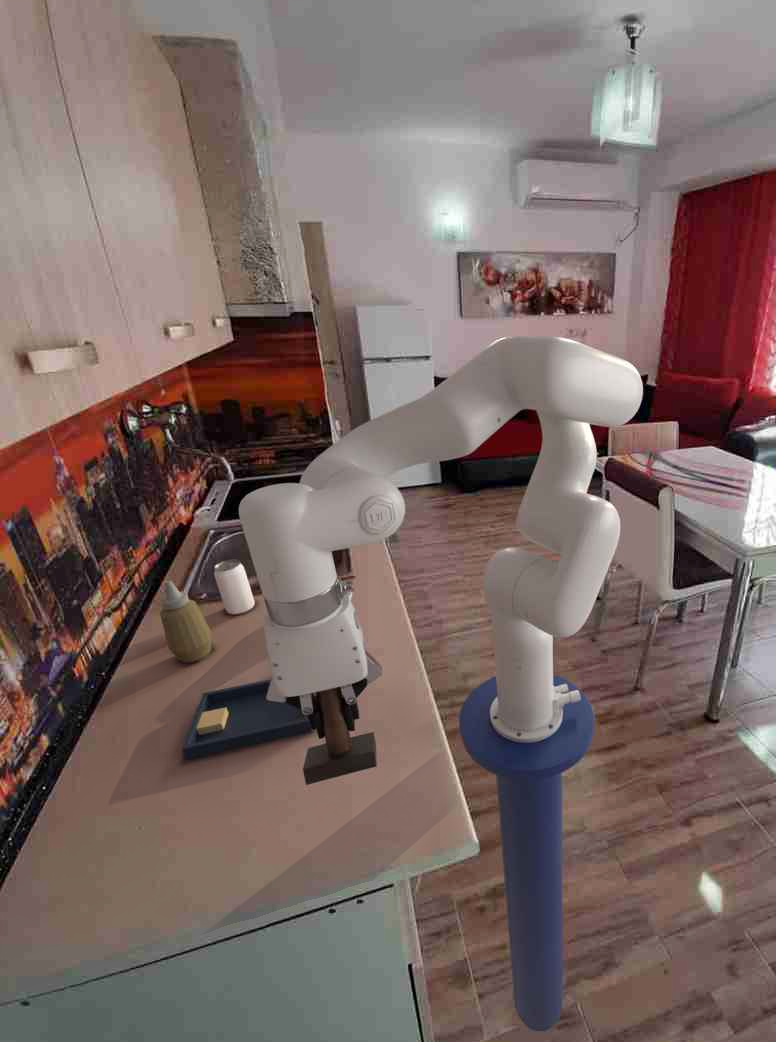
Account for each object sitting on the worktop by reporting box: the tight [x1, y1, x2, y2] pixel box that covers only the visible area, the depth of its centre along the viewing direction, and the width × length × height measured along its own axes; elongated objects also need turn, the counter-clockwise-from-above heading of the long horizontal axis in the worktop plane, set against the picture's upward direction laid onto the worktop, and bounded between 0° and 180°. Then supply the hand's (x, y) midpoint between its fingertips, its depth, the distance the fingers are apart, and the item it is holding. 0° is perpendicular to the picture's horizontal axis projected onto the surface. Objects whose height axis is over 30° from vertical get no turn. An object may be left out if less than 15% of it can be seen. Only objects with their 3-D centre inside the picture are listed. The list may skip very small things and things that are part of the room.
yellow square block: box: [196, 708, 229, 735], centre depth 89 cm, size 4×4×2 cm
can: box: [213, 559, 256, 616], centre depth 122 cm, size 6×6×12 cm
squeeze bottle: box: [159, 579, 213, 663], centre depth 105 cm, size 8×8×18 cm
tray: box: [181, 679, 316, 761], centre depth 90 cm, size 20×14×2 cm
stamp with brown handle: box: [302, 686, 378, 786], centre depth 61 cm, size 8×5×10 cm, turn 106°
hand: (337, 725), depth 62 cm, fingers closed on stamp with brown handle, 2 cm apart
